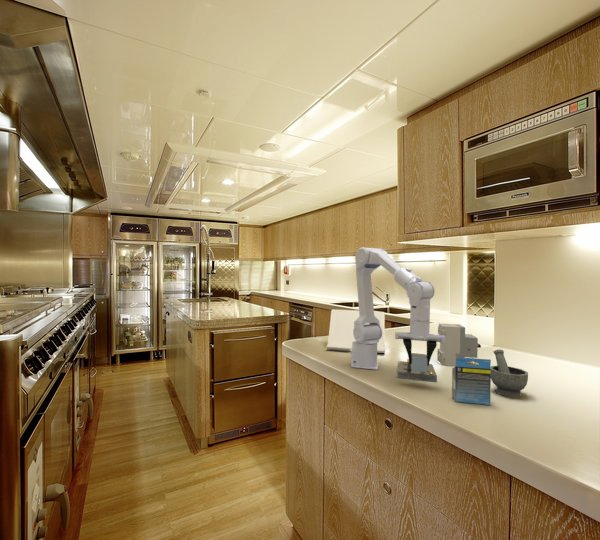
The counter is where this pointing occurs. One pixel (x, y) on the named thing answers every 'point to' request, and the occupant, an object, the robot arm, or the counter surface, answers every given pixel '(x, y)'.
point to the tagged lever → (408, 365)
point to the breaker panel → (416, 372)
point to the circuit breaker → (456, 344)
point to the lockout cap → (419, 362)
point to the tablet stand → (349, 330)
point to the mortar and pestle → (507, 377)
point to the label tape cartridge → (471, 381)
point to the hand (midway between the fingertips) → (418, 363)
